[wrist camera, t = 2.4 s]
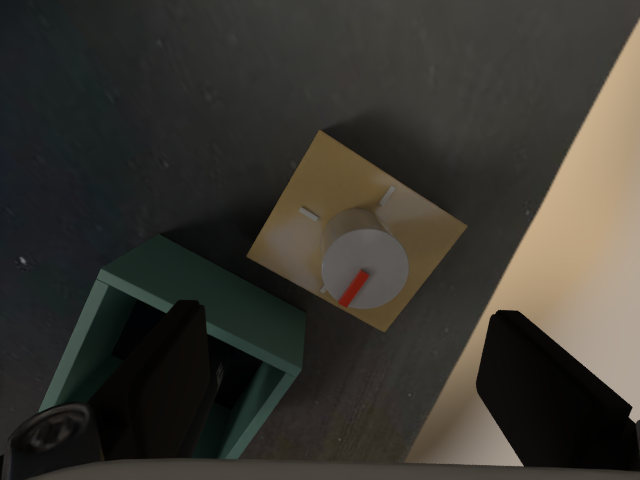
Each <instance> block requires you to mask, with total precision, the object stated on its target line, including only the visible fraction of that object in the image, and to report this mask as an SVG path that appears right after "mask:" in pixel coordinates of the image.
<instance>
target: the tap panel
mask: <svg viewBox="0 0 640 480" xmlns="http://www.w3.org/2000/svg"><path fill="white" fill-rule="evenodd" d="M354 208H360V209H366V210H369V211H372V212H373V213H375V214H377V215H378V216H379V217H380V218H381V219H382V220H383V221H384V222H385V223H386V225H387V226H388V227H389V229H390V230H391V231H392V233H393V234H394V235H395V237H396V238H397V239H398V240H399V242H400V243H401V244H402V246H403V247H404V249H405V251H406V253H407V256H408V261H409V272H408V277H407V280H406V283H405V285H404V287H403V288H402V290H401V291H400V292H399V293H398V295H397V296H395V297H394V298H393V299H392V300H390V301H389V302H387V303H385V304H384V305H381V306H379V307H375V308H370V309H357V308H352V307H349V306H348V307H347V308H346V307H344V306H342V305H340V304H338V301H337V300H336V299H335V298H333V297H332V296H331V294H330V293H329V292H328V290H327V289H326V287H325V285H324V282H323V279H322V273H321V237H322V233H323V230H324V228H325V226H326V224H327V223H328V222H329V221H330V220H331V219H332V218H333V217H334V216H335V215H337V214H338V213H340V212H342V211H344V210H348V209H354ZM467 227H468V226H467V225H466V224H464V223H463V222H461V221H460V220H458V219H457V218H455V217H454V216H452V215H450V214H449V213H447V212H446V211H444V210H443V209H441V208H440V207H438V206H437V205H435V204H434V203H432V202H430V201H429V200H427V199H426V198H424V197H423V196H421V195H420V194H418V193H417V192H415V191H414V190H412V189H410V188H409V187H407V186H406V185H404V184H403V183H401V182H400V181H398V180H397V179H395V178H394V177H392V176H390V175H389V174H387V173H386V172H384V171H383V170H381V169H380V168H378V167H377V166H375V165H373V164H372V163H370V162H369V161H367V160H366V159H364V158H363V157H361V156H360V155H358V154H357V153H355V152H353V151H352V150H350V149H349V148H347V147H346V146H344V145H343V144H341V143H340V142H338V141H337V140H335V139H333V138H332V137H330V136H329V135H327V134H326V133H324V132H323V131H321V130H319V131H318V133H317V135H316V136H315V138H314V140H313V142H312V143H311V145H310V147H309V149H308V150H307V152H306V154H305V155H304V157H303V159H302V161H301V162H300V164H299V166H298V168H297V169H296V171H295V173H294V174H293V176H292V178H291V180H290V181H289V183H288V185H287V186H286V188H285V190H284V192H283V193H282V195H281V197H280V199H279V200H278V202H277V204H276V205H275V207H274V209H273V211H272V212H271V214H270V216H269V218H268V219H267V221H266V223H265V224H264V226H263V228H262V230H261V231H260V233H259V235H258V237H257V238H256V240H255V242H254V243H253V245H252V247H251V249H250V250H249V252H248V254H247V256H246V257H248V258H250V259H251V260H253V261H255V262H257V263H259V264H260V265H262V266H264V267H266V268H268V269H270V270H271V271H273V272H275V273H277V274H279V275H280V276H282V277H284V278H286V279H288V280H290V281H291V282H293V283H295V284H297V285H299V286H300V287H302V288H304V289H306V290H308V291H310V292H311V293H313V294H315V295H317V296H319V297H320V298H322V299H324V300H326V301H328V302H330V303H331V304H333V305H335V306H337V307H339V308H340V309H342V310H344V311H346V312H348V313H350V314H351V315H353V316H355V317H357V318H359V319H360V320H362V321H364V322H366V323H368V324H370V325H371V326H373V327H375V328H377V329H379V330H380V331H382V332H385V331H386V330H387V329H388V328H389V326H390V325H391V324H392V323H393V321H394V320H395V319H396V317H397V316H398V315H399V314H400V312H401V311H402V310H403V308H404V307H405V306H406V305H407V303H408V302H409V301H410V300H411V298H412V297H413V296H414V294H415V293H416V292H417V291H418V289H419V288H420V287H421V286H422V284H423V283H424V282H425V280H426V279H427V278H428V277H429V275H430V274H431V273H432V271H433V270H434V269H435V268H436V266H437V265H438V264H439V263H440V261H441V260H442V259H443V257H444V256H445V255H446V254H447V252H448V251H449V250H450V249H451V247H452V246H453V245H454V243H455V242H456V241H457V240H458V238H459V237H460V236H461V234H462V233H463V232H464V231H465V229H466V228H467Z"/></svg>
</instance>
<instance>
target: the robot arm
mask: <svg viewBox="0 0 640 480" xmlns="http://www.w3.org/2000/svg"><path fill="white" fill-rule="evenodd" d="M209 380H210V366H209V353H208V340H207V327H206V313H205V307H204V305H200V303H199V301H198V300H178V301H177V302H176V303H175V304H174V305H173V307H172V308H171V309H170V310H169V311H168V312H167V313H166V314H165V316H164V317H163V318H162V319H161V320H160V321H159V322H158V323H157V324H156V326H155V327H154V328H153V329H152V330H151V331H150V332H149V333H148V334H147V336H146V337H145V338H144V339H143V340H142V341H141V342H140V343H139V344H138V345H137V347H136V348H135V349H134V350H133V351H132V352H131V353H130V354H129V355H128V357H127V358H126V359H125V360H124V361H123V362H122V363H121V364H120V366H119V367H118V368H117V369H116V370H115V371H114V372H113V373H112V374H111V376H110V377H109V378H108V379H107V380H106V381H105V382H104V383H103V384H102V386H101V387H100V388H99V389H98V390H97V391H96V392H95V393H94V394H93V396H92V397H91V398H90V399H89V400H88V401H87V402H86V403H85V402H67V403H62V404H59V405H55V406H52V407H50V408H47V409H45V410H43V411H41V412H39V413H37V414H35V415H34V416H32V417H31V418H29V419H27V420H26V421H25V422H23V423H22V424H21V425H20V426H19V427H18V428H16V429H15V431H14V432H13V433H12V434H11V436H10V437H9V438H8V440H7V443H6V445H5V449H4V455H1V456H0V480H640V420H638V421H637V423H634V422H633V421H632V420H631V419H630V418H629V415H630V412H631V410H632V406H631V405H630V404H628V403H627V402H626V401H625V400H624V399H622V398H621V397H620V396H619V395H618V394H617V393H615V392H614V391H613V390H612V389H611V388H609V387H608V386H607V385H606V384H605V383H604V382H602V381H601V380H600V379H599V378H598V377H596V376H595V375H594V374H593V373H592V372H590V371H589V370H588V369H587V368H586V367H585V366H583V365H582V364H581V363H580V362H579V361H577V360H576V359H575V358H574V357H573V356H572V355H570V354H569V353H568V352H567V351H566V350H564V349H563V348H562V347H561V346H560V345H558V344H557V343H556V342H555V341H554V340H553V339H551V338H550V337H549V336H548V335H547V334H545V333H544V332H543V331H542V330H541V329H540V328H538V327H537V326H536V325H535V324H534V323H532V322H531V321H530V320H529V319H527V318H526V317H525V316H524V315H523V314H522V313H520V312H519V311H512V310H498V311H497V312H496V314H493V315H492V316H491V318H490V321H489V326H488V330H487V334H486V339H485V344H484V348H483V353H482V357H481V362H480V366H479V372H478V376H477V380H476V388H477V392H478V394H479V396H480V397H481V399H482V401H483V402H484V404H485V405H486V407H487V408H488V410H489V412H490V413H491V415H492V416H493V418H494V420H495V421H496V423H497V424H498V426H499V428H500V429H501V431H502V432H503V434H504V435H505V437H506V439H507V440H508V442H509V443H510V445H511V447H512V448H513V449H514V451H515V453H516V454H517V456H518V458H519V459H520V461H521V462H522V464H523V465H524V467H521V466H491V465H461V464H426V463H390V462H350V461H306V460H256V459H199V458H175V457H176V455H177V453H178V451H179V449H180V446H181V444H182V442H183V440H184V438H185V435H186V433H187V431H188V429H189V427H190V424H191V422H192V420H193V418H194V416H195V414H196V411H197V409H198V407H199V405H200V403H201V400H202V398H203V396H204V394H205V392H206V390H207V387H208V385H209Z"/></svg>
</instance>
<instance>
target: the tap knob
mask: <svg viewBox="0 0 640 480" xmlns="http://www.w3.org/2000/svg"><path fill="white" fill-rule="evenodd" d="M408 272H409V261H408V256H407V253H406V251H405V249H404V247H403V246H402V244H401V243H400V242H399V240H398V239H397V238H396V237H395V235H394V234H393V233H392V231H391V230H390V229H389V227H388V226H387V225H386V223H385V222H384V221H383V220H382V219H381V218H380V217H379V216H378V215H377V214H375V213H373V212H372V211H369V210H366V209H360V208H354V209H348V210H344V211H342V212H340V213H338V214H337V215H335V216H334V217H333V218H332V219H331V220H330V221H329V222H328V223H327V224H326V226H325V228H324V230H323V233H322V237H321V273H322V279H323V282H324V285H325V287H326V289H327V290H328V292H329V293H330V294H331V296H332V297H333V298H335V299H336V300H337V301H338V304H340V305H342V306H344V307H346V308H347V307H348V306H349V307H352V308H357V309H370V308H375V307H379V306H381V305H384V304H385V303H387V302H389V301H390V300H392V299H393V298H394V297H395V296H397V295H398V293H399V292H400V291H401V290H402V288H403V287H404V285H405V283H406V280H407V277H408Z"/></svg>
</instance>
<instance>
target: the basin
mask: <svg viewBox="0 0 640 480" xmlns="http://www.w3.org/2000/svg"><path fill="white" fill-rule="evenodd" d="M138 299H139V300H141V301H143V302H145V303H147V304H149V305H151V306H153V307H155V308H157V309H159V310H161V311H163V312H165V313H167V312H168V311H169V310H170V309H171V308H172V307H173V305H174V304H175V303H176V302H177V301H178V300H198V301H199V303H200V305H204V307H205V313H206V327H207V334H209V335H211V336H213V337H216V338H218V339H220V340H222V341H224V342H226V343H228V344H230V345H232V346H234V347H236V348H238V349H240V350H242V351H244V352H246V353H248V354H250V355H252V356H254V357H256V358H258V359H260V360H262V361H263V363H262V364H261V366H260V367H259V369H258V370H257V372H256V373H255V375H254V376H253V378H252V379H251V381H250V382H249V384H248V385H247V387H246V388H245V390H244V391H243V393H242V394H241V396H240V397H239V399H238V400H237V402H236V403H235V405H234V406H233V408H232V409H229V408H226V407H224V406H222V405H220V404H218V403H216V402H213V405H212V407H211V410H210V412H209V415H208V417H207V420H206V422H205V425H204V427H203V430H202V432H201V435H200V437H199V440H198V442H197V445H196V447H195V450H194V452H193V455H192V457H191V458H199V459H238V458H239V456H240V455H241V453H242V452H243V451H244V449H245V448H246V447H247V445H248V444H249V442H250V441H251V440H252V438H253V437H254V435H255V434H256V433H257V431H258V430H259V428H260V427H261V426H262V424H263V423H264V422H265V420H266V419H267V417H268V416H269V415H270V413H271V412H272V410H273V409H274V408H275V406H276V405H277V404H278V402H279V401H280V399H281V398H282V397H283V395H284V394H285V392H286V391H287V390H288V388H289V387H290V386H291V384H292V383H293V381H294V380H295V379H296V377H297V376H298V374H299V373H300V372H301V370H302V364H303V351H304V337H305V324H306V313H305V312H303V311H302V310H300V309H298V308H296V307H294V306H292V305H290V304H289V303H287V302H285V301H283V300H281V299H279V298H277V297H276V296H274V295H272V294H270V293H268V292H266V291H264V290H262V289H261V288H259V287H257V286H255V285H253V284H251V283H249V282H248V281H246V280H244V279H242V278H240V277H238V276H236V275H234V274H233V273H231V272H229V271H227V270H225V269H223V268H221V267H220V266H218V265H216V264H214V263H212V262H210V261H208V260H206V259H205V258H203V257H201V256H199V255H197V254H195V253H193V252H192V251H190V250H188V249H186V248H184V247H182V246H180V245H179V244H177V243H175V242H173V241H171V240H169V239H167V238H165V237H164V236H162V235H160V234H158V235H156V236H154V237H153V238H151V239H149V240H148V241H146V242H144V243H143V244H141V245H139V246H138V247H136V248H134V249H133V250H131V251H129V252H128V253H126V254H124V255H123V256H121V257H119V258H118V259H116V260H114V261H113V262H111V263H109V264H108V265H106V266H104V267H103V268H101V270H100V272H99V274H98V277H97V279H96V281H95V283H94V286H93V288H92V290H91V292H90V295H89V297H88V299H87V302H86V304H85V306H84V308H83V311H82V313H81V315H80V318H79V320H78V322H77V325H76V327H75V329H74V331H73V334H72V336H71V338H70V341H69V343H68V345H67V347H66V350H65V352H64V354H63V357H62V359H61V361H60V364H59V366H58V368H57V370H56V373H55V375H54V377H53V380H52V382H51V384H50V387H49V389H48V391H47V393H46V396H45V398H44V400H43V403H42V405H41V407H40V409H39V412H41V411H43V410H45V409H47V408H50V407H52V406H55V405H59V404H62V403H67V402H85V403H86V402H87V401H88V400H89V399H90V398H91V397H92V396H93V394H94V393H95V392H96V391H97V390H98V389H99V388H100V387H101V386H102V384H103V383H104V382H105V381H106V380H107V379H108V378H109V377H110V376H111V374H112V373H113V372H114V371H115V370H116V369H117V368H118V367H119V366H120V364H121V363H122V362H123V361H124V360H122V359H120V358H118V357H115V356H113V355H111V354H112V352H113V350H114V348H115V346H116V343H117V341H118V339H119V337H120V335H121V333H122V331H123V329H124V327H125V325H126V323H127V321H128V319H129V317H130V315H131V313H132V311H133V309H134V307H135V305H136V303H137V301H138ZM39 412H38V413H39Z"/></svg>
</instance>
